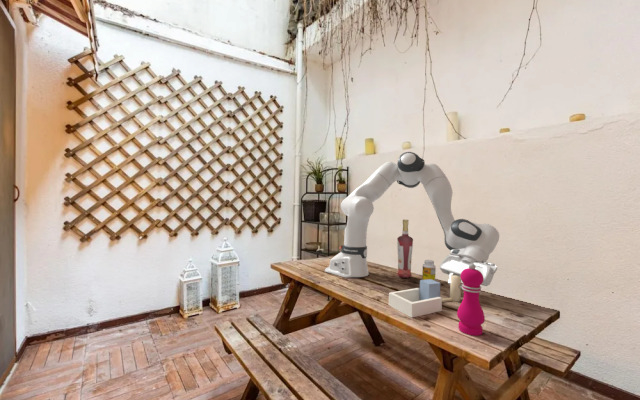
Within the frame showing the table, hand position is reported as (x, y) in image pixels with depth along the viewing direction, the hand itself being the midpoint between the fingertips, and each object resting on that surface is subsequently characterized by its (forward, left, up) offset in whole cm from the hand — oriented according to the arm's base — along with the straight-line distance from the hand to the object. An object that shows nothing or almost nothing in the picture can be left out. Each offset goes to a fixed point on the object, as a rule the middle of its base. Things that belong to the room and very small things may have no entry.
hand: (455, 286), depth 109 cm
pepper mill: (+8, -25, -5) cm, 27 cm away
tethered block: (-4, -5, -5) cm, 8 cm away
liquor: (-26, +18, -5) cm, 32 cm away
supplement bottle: (-14, +16, -5) cm, 22 cm away
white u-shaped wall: (-10, -18, -5) cm, 21 cm away
